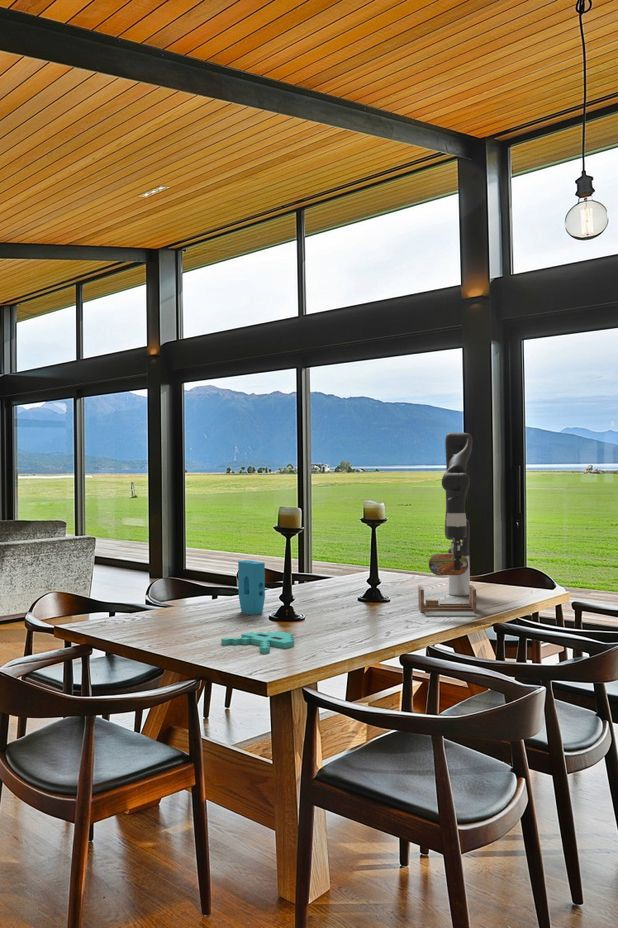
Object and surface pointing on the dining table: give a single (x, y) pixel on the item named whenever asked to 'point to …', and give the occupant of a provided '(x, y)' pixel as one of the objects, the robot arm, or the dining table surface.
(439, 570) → the tin
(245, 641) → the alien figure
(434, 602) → the offcut oak
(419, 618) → the dining table surface
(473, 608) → the rack
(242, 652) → the dining table surface
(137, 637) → the dining table surface
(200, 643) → the dining table surface
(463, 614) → the felt mat
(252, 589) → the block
